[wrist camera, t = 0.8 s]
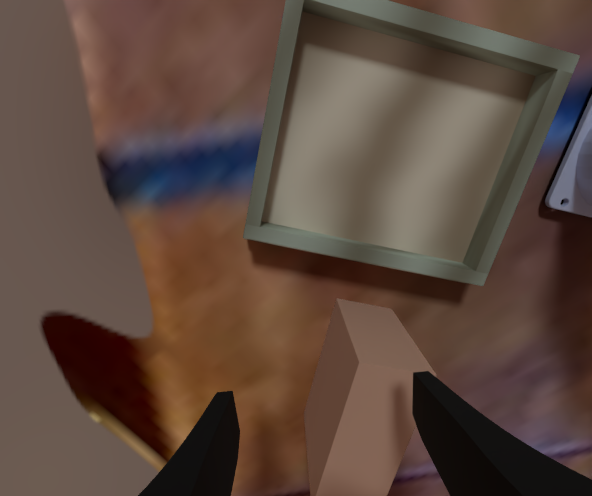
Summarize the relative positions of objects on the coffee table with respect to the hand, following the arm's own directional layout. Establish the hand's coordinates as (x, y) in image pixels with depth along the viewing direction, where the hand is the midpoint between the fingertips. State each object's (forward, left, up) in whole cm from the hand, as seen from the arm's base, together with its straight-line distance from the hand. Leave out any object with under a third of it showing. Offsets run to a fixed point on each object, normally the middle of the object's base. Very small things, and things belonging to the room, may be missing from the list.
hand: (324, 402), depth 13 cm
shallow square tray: (-2, -10, -10) cm, 14 cm away
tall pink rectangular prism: (-4, +5, -10) cm, 12 cm away
